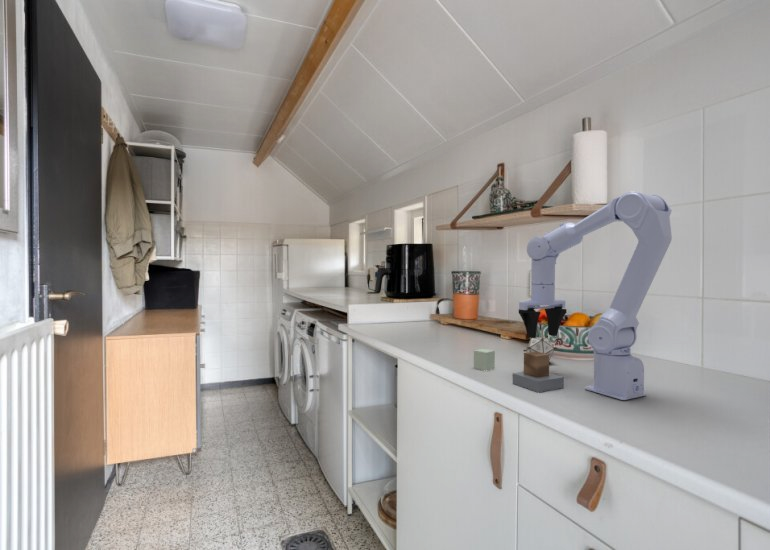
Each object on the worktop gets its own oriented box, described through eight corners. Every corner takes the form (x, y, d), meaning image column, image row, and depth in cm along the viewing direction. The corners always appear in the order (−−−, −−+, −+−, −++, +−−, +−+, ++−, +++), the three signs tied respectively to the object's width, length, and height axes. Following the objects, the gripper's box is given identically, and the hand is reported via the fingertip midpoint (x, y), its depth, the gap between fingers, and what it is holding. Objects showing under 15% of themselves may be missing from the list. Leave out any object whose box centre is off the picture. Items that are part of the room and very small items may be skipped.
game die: (542, 374, 126) (557, 346, 128) (550, 370, 118) (566, 340, 120) (514, 357, 128) (530, 330, 130) (520, 353, 120) (537, 323, 122)
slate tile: (563, 387, 99) (563, 377, 98) (538, 392, 95) (538, 381, 95) (536, 379, 106) (537, 369, 106) (512, 383, 102) (512, 373, 102)
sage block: (494, 368, 117) (494, 350, 117) (486, 371, 114) (486, 352, 114) (482, 366, 120) (482, 348, 120) (473, 368, 117) (473, 350, 117)
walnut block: (549, 375, 100) (549, 354, 100) (536, 377, 98) (536, 356, 98) (535, 371, 103) (536, 351, 103) (523, 373, 101) (523, 352, 101)
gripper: (550, 283, 117) (549, 332, 117) (510, 284, 110) (510, 336, 111) (572, 284, 111) (571, 336, 111) (531, 285, 104) (530, 340, 104)
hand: (542, 336), depth 110 cm, fingers open, 7 cm apart
